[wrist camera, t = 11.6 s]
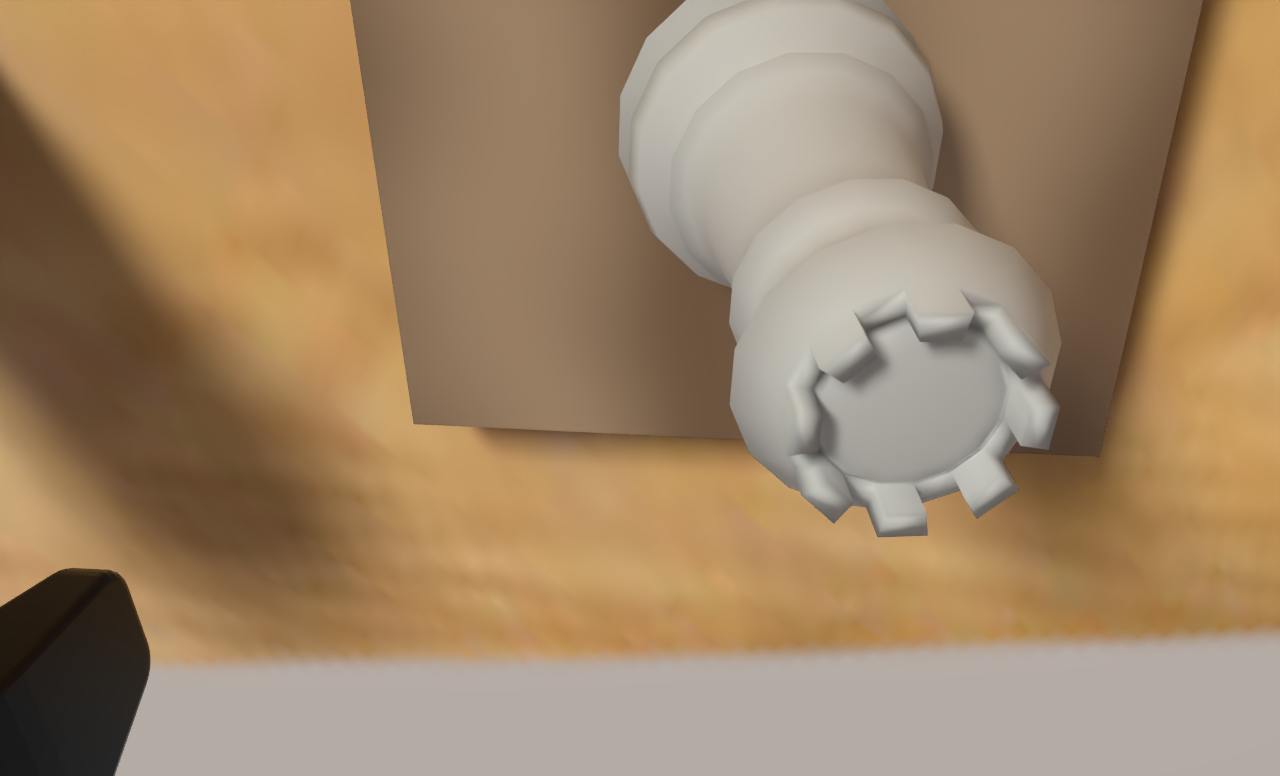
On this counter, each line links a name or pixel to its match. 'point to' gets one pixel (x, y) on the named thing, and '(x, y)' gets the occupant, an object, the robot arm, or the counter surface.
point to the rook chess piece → (839, 255)
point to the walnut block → (660, 281)
